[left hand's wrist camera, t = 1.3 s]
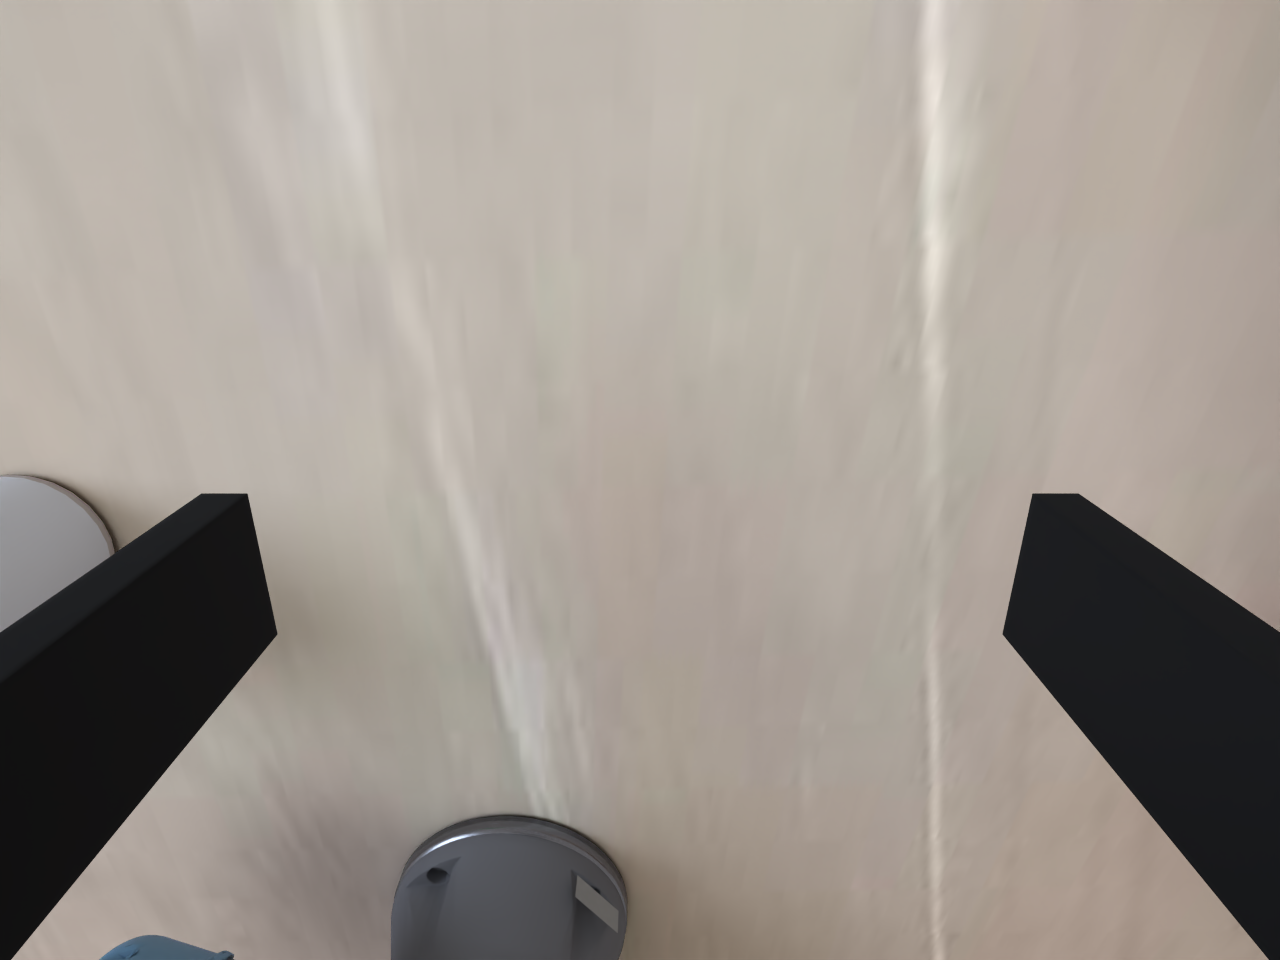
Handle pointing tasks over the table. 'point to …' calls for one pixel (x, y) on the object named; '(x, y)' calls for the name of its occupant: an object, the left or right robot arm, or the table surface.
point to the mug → (44, 543)
